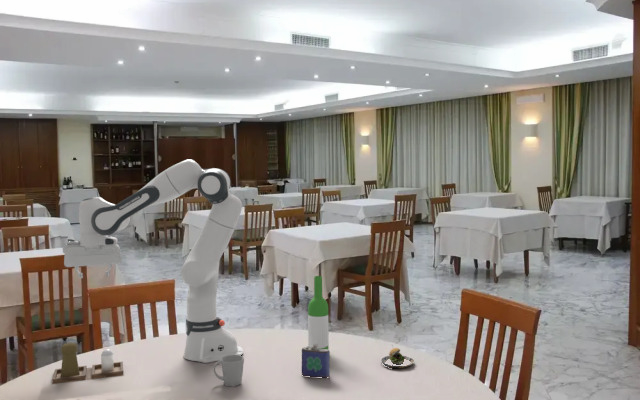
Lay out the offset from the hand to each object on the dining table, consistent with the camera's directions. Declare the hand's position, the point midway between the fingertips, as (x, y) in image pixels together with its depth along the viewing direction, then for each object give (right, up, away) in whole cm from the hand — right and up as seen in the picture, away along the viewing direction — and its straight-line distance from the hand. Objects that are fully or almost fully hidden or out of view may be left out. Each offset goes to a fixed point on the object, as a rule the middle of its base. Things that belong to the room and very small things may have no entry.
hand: (94, 277), depth 221 cm
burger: (+113, -31, -7) cm, 117 cm away
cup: (+55, -32, -25) cm, 68 cm away
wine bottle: (+84, -30, +5) cm, 90 cm away
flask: (+83, -32, -19) cm, 91 cm away
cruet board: (+6, -32, -19) cm, 38 cm away
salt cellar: (+11, -30, -17) cm, 37 cm away
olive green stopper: (0, -31, -21) cm, 37 cm away
